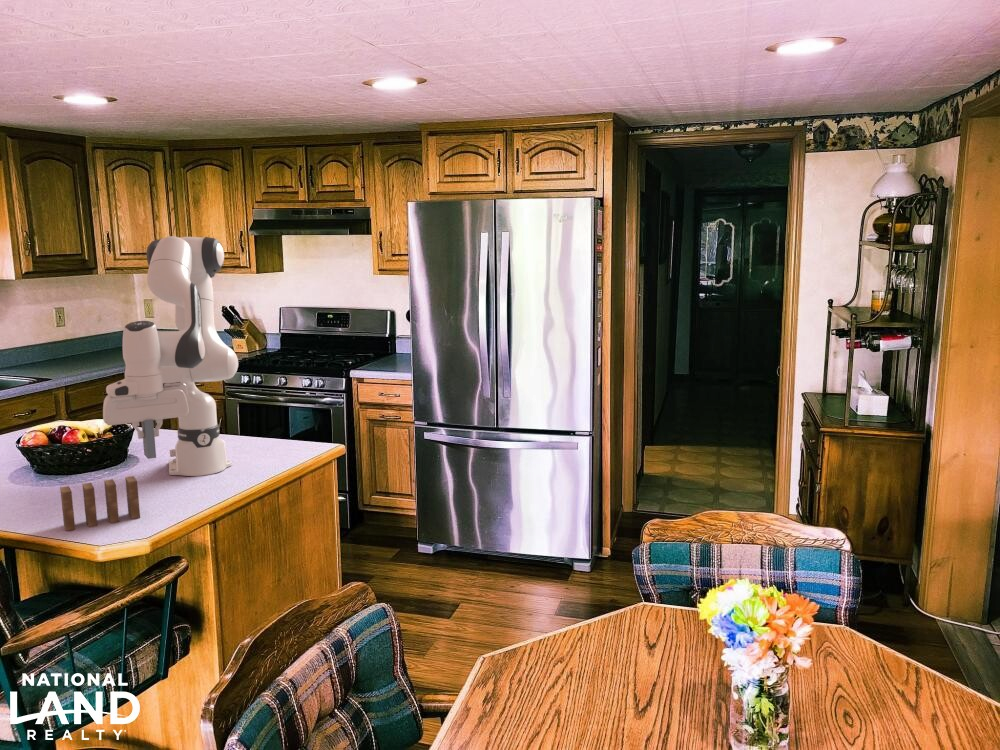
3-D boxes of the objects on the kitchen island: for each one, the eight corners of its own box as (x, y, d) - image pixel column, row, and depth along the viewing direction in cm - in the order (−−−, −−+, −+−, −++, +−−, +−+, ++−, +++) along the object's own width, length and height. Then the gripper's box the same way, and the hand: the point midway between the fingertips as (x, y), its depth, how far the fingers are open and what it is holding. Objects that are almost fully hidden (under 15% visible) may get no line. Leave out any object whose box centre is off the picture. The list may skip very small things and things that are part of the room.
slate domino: (147, 458, 206) (144, 421, 204) (144, 454, 210) (141, 417, 208) (156, 457, 207) (153, 420, 205) (152, 453, 211) (149, 416, 209)
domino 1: (66, 531, 198) (62, 492, 196) (64, 525, 202) (60, 487, 200) (75, 529, 199) (71, 491, 197) (72, 523, 203) (69, 485, 201)
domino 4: (131, 519, 206) (128, 482, 204) (128, 513, 210) (125, 477, 208) (140, 517, 207) (137, 480, 205) (136, 512, 211) (133, 475, 209)
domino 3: (110, 523, 203) (107, 485, 201) (107, 517, 207) (104, 480, 205) (119, 521, 204) (115, 484, 202) (115, 516, 208) (112, 479, 206)
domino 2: (88, 527, 200) (85, 489, 198) (86, 521, 204) (82, 483, 203) (97, 525, 201) (93, 487, 200) (94, 519, 205) (91, 482, 204)
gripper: (183, 379, 213) (187, 429, 216) (99, 387, 202) (104, 440, 205) (189, 382, 208) (193, 434, 211) (103, 391, 197) (107, 445, 199)
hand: (148, 437), depth 207 cm, fingers closed on slate domino, 2 cm apart
